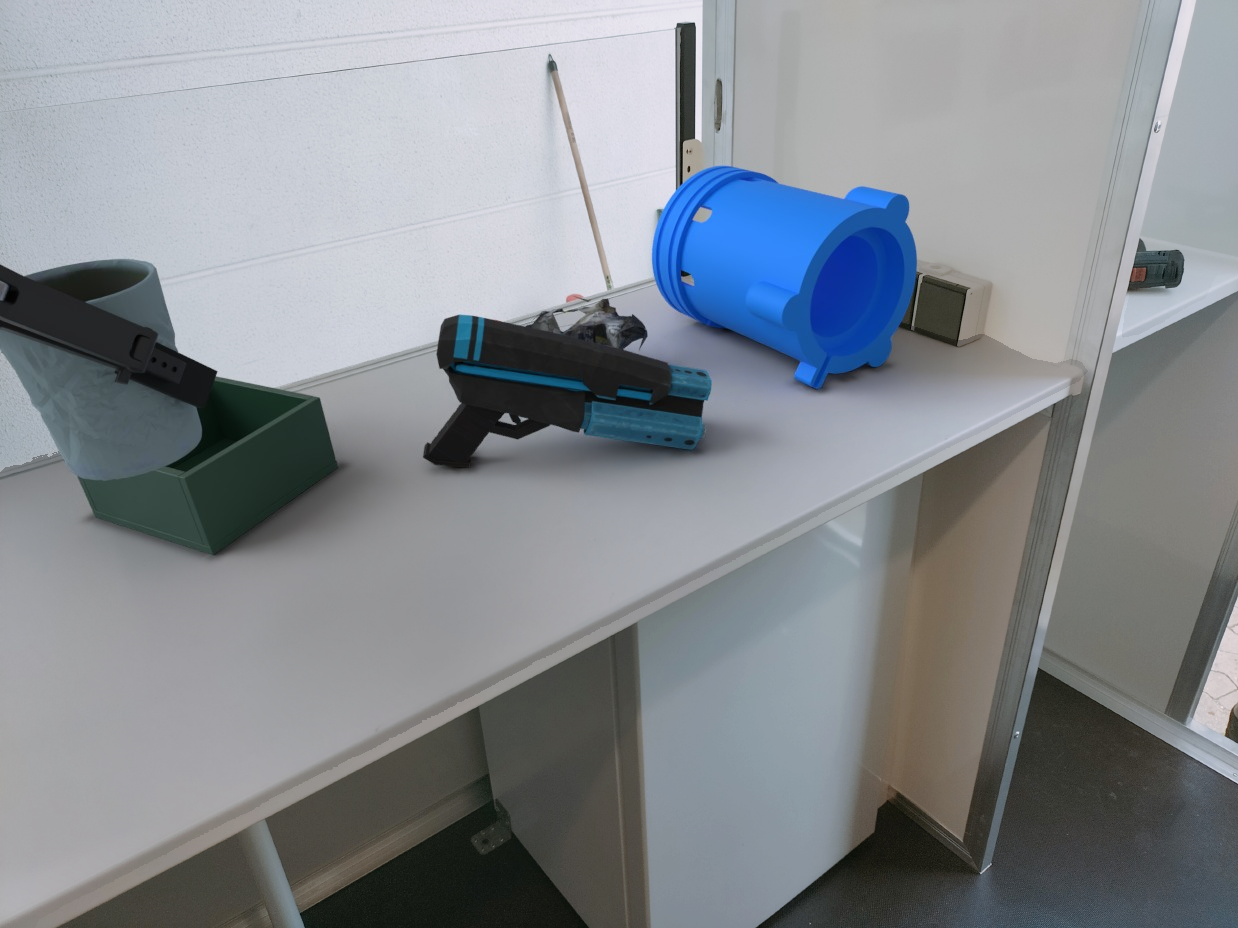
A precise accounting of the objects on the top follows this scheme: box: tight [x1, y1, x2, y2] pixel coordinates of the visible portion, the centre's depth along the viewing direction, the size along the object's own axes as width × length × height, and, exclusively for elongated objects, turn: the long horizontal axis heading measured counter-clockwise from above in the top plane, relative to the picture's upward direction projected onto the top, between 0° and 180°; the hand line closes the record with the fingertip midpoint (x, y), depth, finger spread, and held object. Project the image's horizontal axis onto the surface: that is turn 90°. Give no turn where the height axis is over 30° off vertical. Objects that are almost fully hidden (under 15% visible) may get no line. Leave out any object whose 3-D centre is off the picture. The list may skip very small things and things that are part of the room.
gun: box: [422, 314, 713, 468], centre depth 83 cm, size 8×26×15 cm, turn 97°
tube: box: [651, 165, 918, 390], centre depth 100 cm, size 25×22×19 cm
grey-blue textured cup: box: [0, 258, 202, 481], centre depth 56 cm, size 10×10×12 cm
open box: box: [76, 375, 339, 556], centre depth 80 cm, size 16×16×8 cm
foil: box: [524, 295, 649, 351], centre depth 99 cm, size 12×11×15 cm
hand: (151, 379), depth 60 cm, fingers closed on grey-blue textured cup, 10 cm apart
